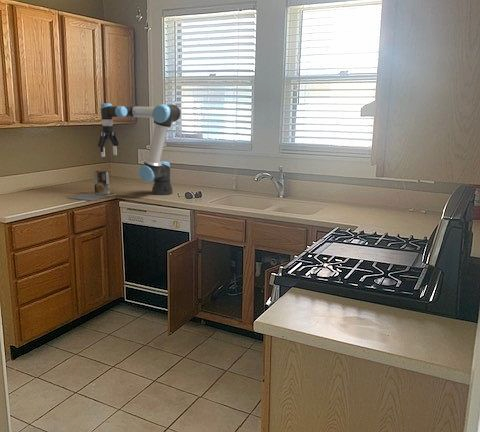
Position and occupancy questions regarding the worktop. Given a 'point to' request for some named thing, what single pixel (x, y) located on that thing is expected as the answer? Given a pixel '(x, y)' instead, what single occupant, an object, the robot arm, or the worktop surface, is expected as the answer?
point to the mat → (88, 197)
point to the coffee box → (101, 182)
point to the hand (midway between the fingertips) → (109, 155)
